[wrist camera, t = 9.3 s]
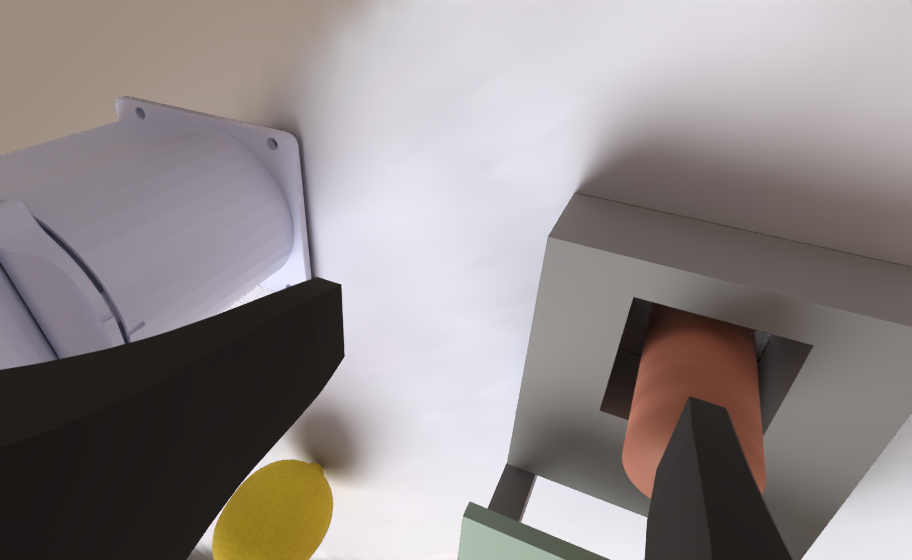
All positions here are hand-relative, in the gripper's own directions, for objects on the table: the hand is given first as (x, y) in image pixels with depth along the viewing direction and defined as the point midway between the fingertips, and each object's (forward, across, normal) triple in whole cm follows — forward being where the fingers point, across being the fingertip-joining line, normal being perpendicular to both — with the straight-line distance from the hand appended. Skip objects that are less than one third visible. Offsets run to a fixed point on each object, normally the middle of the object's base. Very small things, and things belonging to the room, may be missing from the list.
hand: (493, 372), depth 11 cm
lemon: (+10, +12, +21) cm, 26 cm away
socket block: (+9, -5, +6) cm, 12 cm away
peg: (+9, -5, +3) cm, 11 cm away
